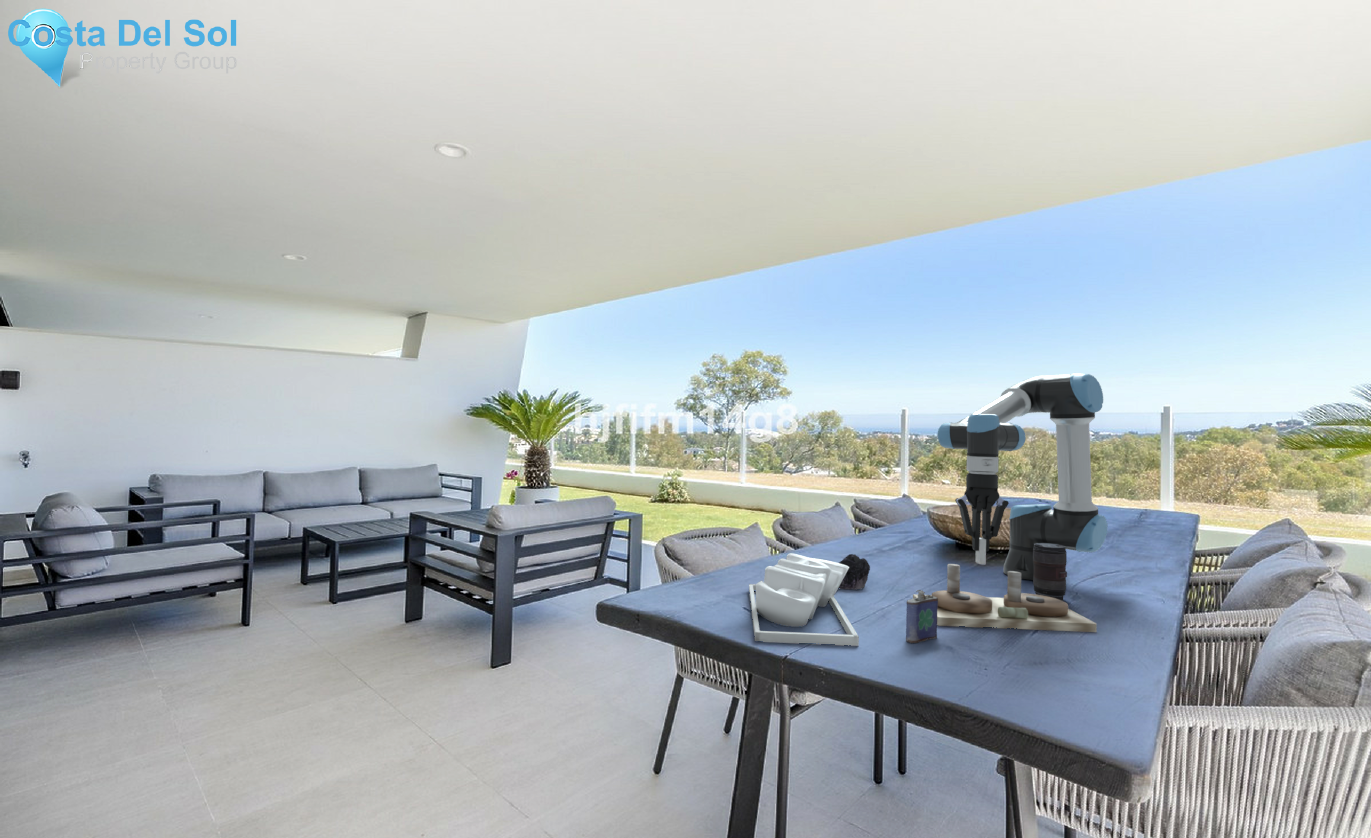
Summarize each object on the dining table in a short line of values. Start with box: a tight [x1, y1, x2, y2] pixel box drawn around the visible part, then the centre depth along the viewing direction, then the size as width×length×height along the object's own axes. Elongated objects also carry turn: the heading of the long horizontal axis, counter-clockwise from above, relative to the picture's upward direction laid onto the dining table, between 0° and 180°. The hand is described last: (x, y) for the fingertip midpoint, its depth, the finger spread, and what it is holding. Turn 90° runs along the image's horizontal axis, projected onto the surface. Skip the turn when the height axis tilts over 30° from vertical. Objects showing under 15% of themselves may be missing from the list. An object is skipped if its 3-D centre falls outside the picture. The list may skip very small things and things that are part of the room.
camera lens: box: [1032, 543, 1068, 601], centre depth 170 cm, size 8×8×15 cm
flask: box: [905, 589, 938, 644], centre depth 135 cm, size 9×3×11 cm, turn 121°
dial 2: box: [1003, 571, 1069, 616], centre depth 152 cm, size 14×14×9 cm
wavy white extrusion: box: [755, 552, 849, 628], centre depth 155 cm, size 35×16×11 cm, turn 147°
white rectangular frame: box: [748, 583, 860, 647], centre depth 151 cm, size 22×41×2 cm, turn 176°
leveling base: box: [912, 593, 1098, 633], centre depth 153 cm, size 36×20×4 cm, turn 86°
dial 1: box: [931, 563, 992, 613], centre depth 154 cm, size 14×14×9 cm
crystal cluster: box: [838, 553, 871, 590], centre depth 181 cm, size 13×14×10 cm
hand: (980, 563), depth 159 cm, fingers closed
